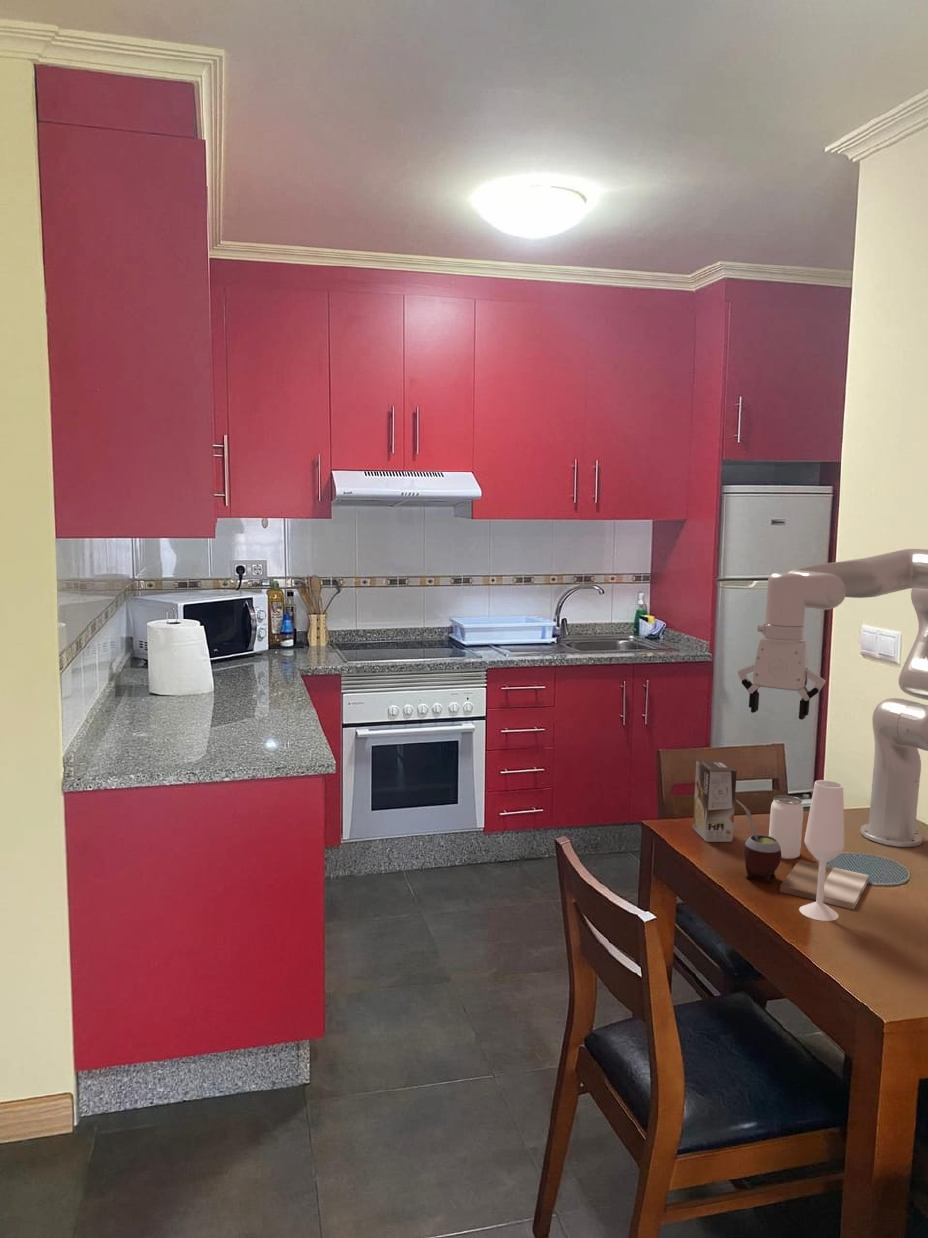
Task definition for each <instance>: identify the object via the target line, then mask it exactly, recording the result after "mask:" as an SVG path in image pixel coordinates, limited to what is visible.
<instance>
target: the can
mask: <svg viewBox="0 0 928 1238" xmlns="http://www.w3.org/2000/svg"><path fill="white" fill-rule="evenodd" d="M802 803H803V801H802V799H801V798H799V797H796V796H793V795H792V796H791V795H785V794H784V795H775V796H774V797H773V801H772V802H771V804H770V816H769V826H768V827H769V829H768V836H770V837H773V838H774V839H776V840H777V842H778V843H779V845H780V848H781V858H782V859H783V860H796V859H797V857H798V858H799V857H800V856H801V855H800V854H801V845H802V833H803V822H804V821H803V819H804V807H803V804H802ZM795 858H796V859H795ZM782 859H781V860H782Z"/></svg>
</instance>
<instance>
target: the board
mask: <svg viewBox="0 0 928 1238" xmlns="http://www.w3.org/2000/svg"><path fill="white" fill-rule="evenodd" d="M818 872H819V863H817V862H816V863H815V862H810V861H808V860H807V861H806V860H803V859H799V860H798V861H797V863H796V864H795V865H794V867H793V868H792V869H791V871H790V872H789V873H788V875H787V876H786V877H785V878H784V879H783V881H782V883H781V884H780V886H779V893H784V894H788V895H792V896H796V897H800V898H805V899H809V900H814V901H816V897H817V885H818ZM869 879H870V875H869V874H864V873H861V872H856V871H851V870H848V869H847V870H846V869H842V868H838V867H833V866H830V865H826V872H825V885H824V897H823V903H824V904H829V905H833V906H837V907H842V908H846V909H848V910H849V909H850V910H855V908H856V906H857V904H858V902H859V901H860V898H861V897H862V894H863V893H864V891H865V889H866V887H867V885H868V883H867V882H869V881H868V880H869Z"/></svg>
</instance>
